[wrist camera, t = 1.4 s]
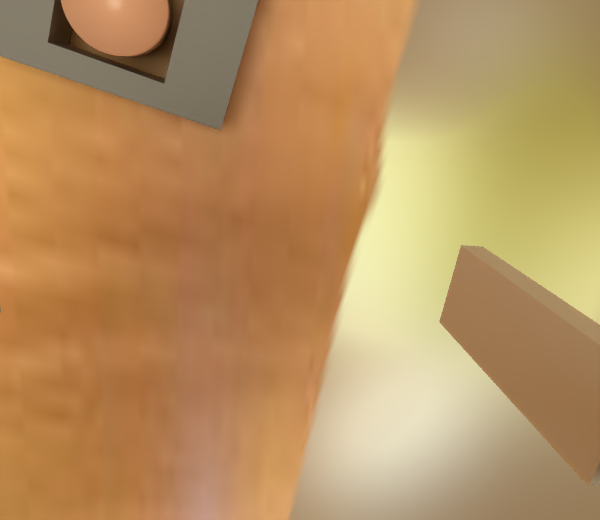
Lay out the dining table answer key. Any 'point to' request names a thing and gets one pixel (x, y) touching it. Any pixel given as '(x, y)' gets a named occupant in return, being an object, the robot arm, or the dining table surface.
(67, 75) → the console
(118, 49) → the button terracotta
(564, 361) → the robot arm
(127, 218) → the dining table surface
